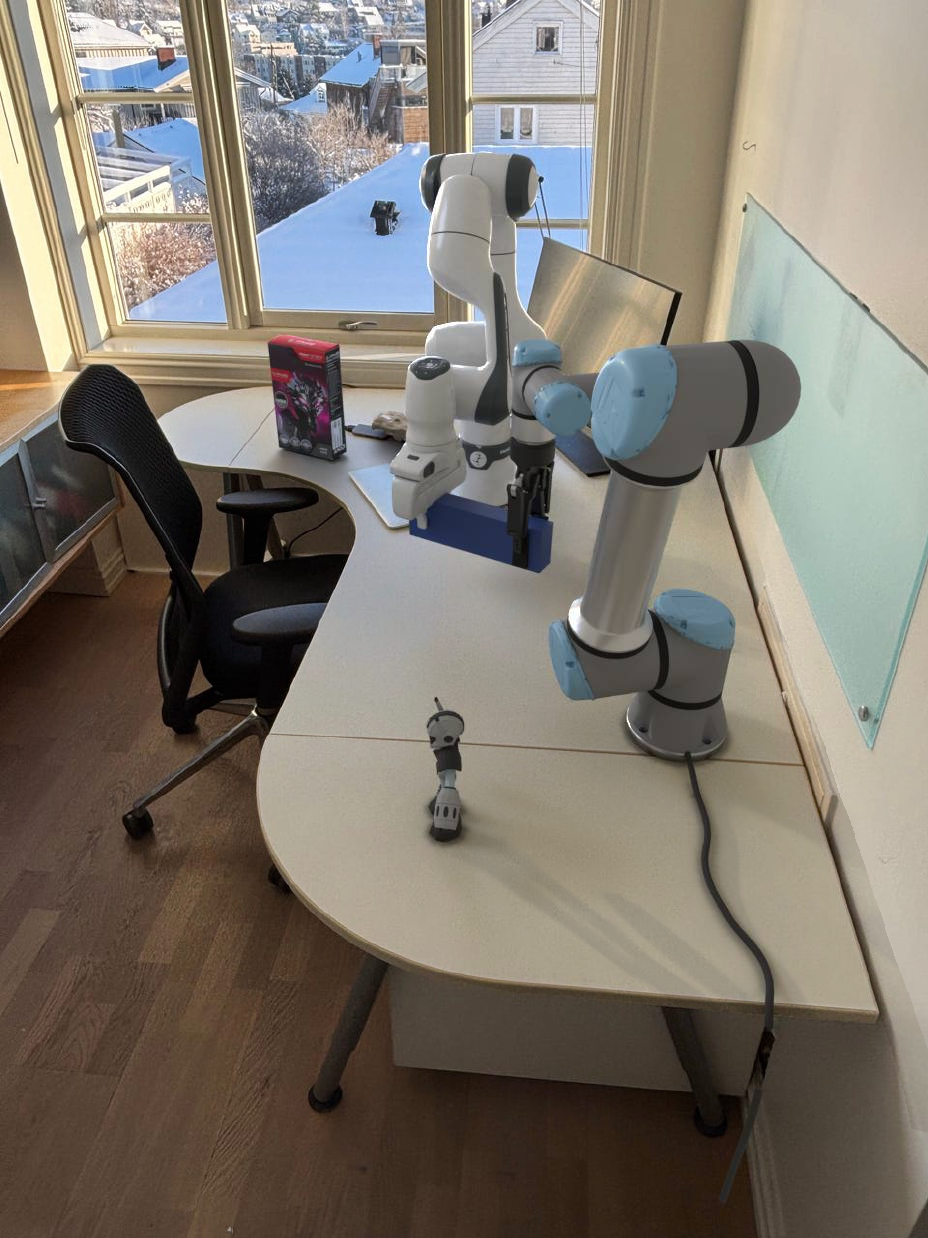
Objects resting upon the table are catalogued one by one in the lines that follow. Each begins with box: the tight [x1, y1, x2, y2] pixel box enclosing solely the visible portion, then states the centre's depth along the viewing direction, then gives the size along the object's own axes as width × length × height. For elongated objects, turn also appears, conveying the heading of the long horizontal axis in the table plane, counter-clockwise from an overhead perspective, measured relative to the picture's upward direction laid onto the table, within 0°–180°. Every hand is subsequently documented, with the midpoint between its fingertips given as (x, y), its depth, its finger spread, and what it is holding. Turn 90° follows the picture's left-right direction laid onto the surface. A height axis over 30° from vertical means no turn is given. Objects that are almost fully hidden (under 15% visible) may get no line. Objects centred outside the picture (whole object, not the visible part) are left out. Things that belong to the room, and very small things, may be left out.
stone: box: [371, 410, 408, 442], centre depth 234 cm, size 21×15×6 cm
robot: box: [425, 696, 465, 842], centre depth 121 cm, size 20×5×20 cm, turn 3°
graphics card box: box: [267, 333, 348, 461], centre depth 223 cm, size 17×7×27 cm, turn 62°
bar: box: [408, 493, 554, 575], centre depth 167 cm, size 27×4×8 cm, turn 59°
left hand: (432, 521), depth 171 cm, fingers closed on bar, 4 cm apart
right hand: (526, 559), depth 164 cm, fingers closed on bar, 4 cm apart
